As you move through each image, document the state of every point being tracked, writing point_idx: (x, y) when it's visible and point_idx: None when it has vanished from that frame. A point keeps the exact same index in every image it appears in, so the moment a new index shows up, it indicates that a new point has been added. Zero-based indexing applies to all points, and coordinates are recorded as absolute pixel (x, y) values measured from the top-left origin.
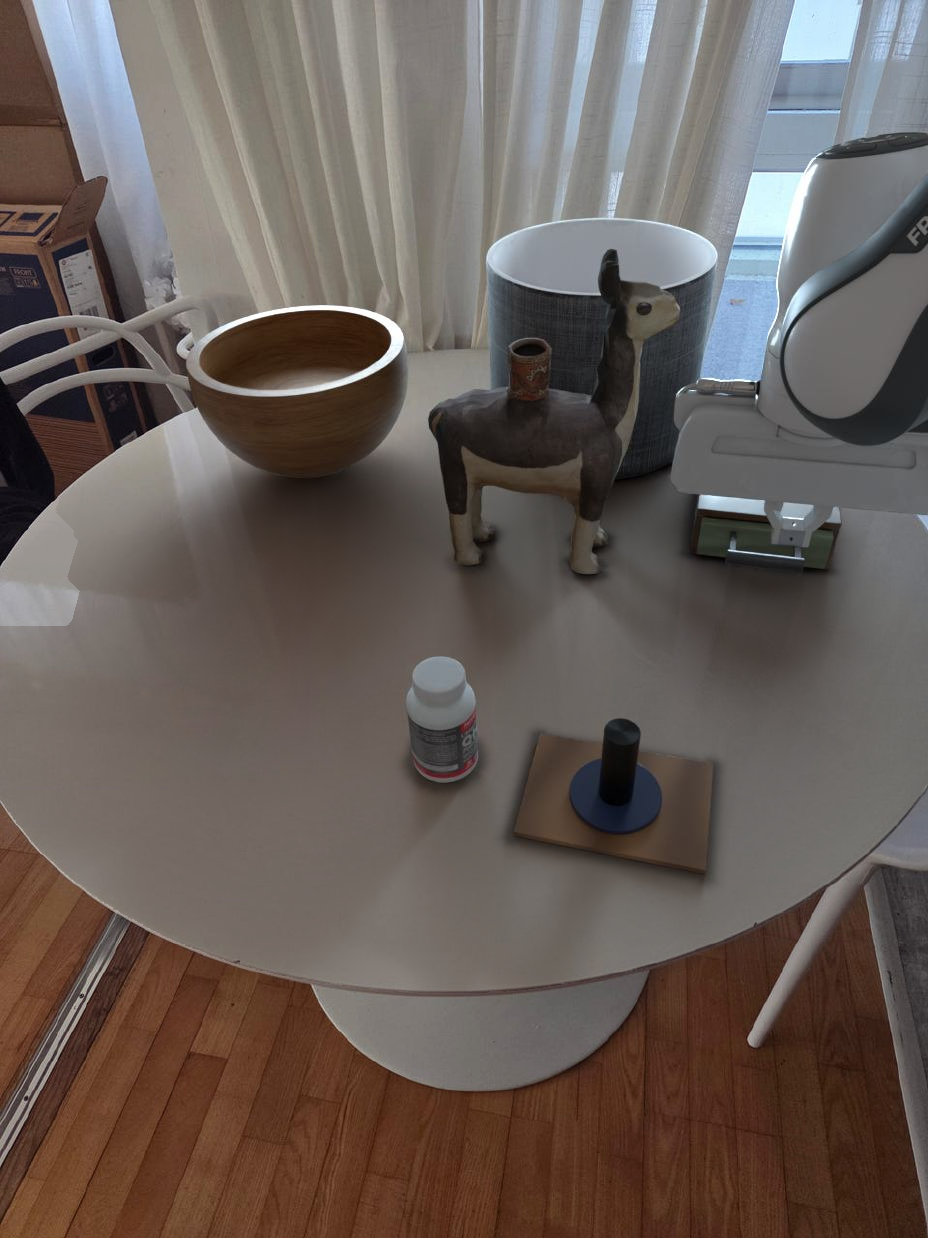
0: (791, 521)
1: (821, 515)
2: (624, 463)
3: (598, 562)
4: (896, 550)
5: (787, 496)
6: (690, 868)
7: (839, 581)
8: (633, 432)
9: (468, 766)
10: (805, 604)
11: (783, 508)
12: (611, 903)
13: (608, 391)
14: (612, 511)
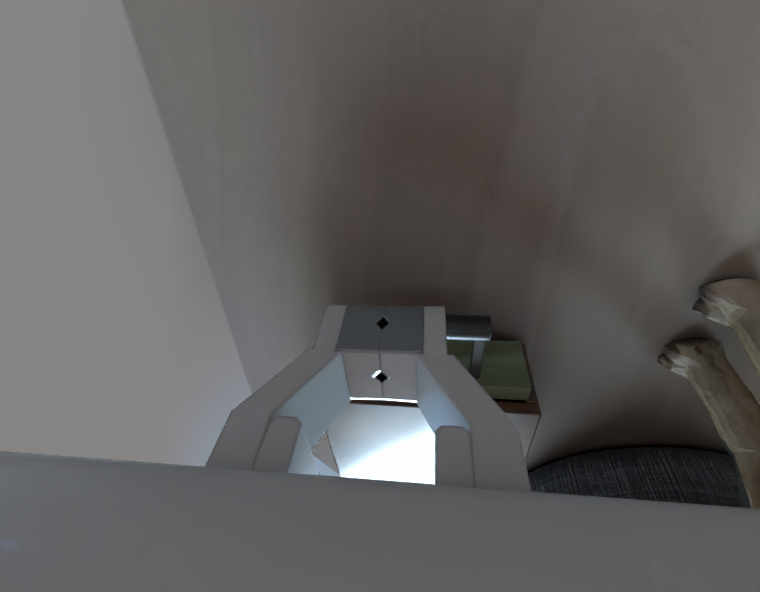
0: (387, 387)
1: (266, 414)
2: (612, 474)
3: (701, 306)
4: (267, 373)
5: (428, 537)
6: None
7: (318, 320)
8: None
9: None
10: (355, 272)
11: (401, 420)
12: None
13: None
14: (632, 403)
